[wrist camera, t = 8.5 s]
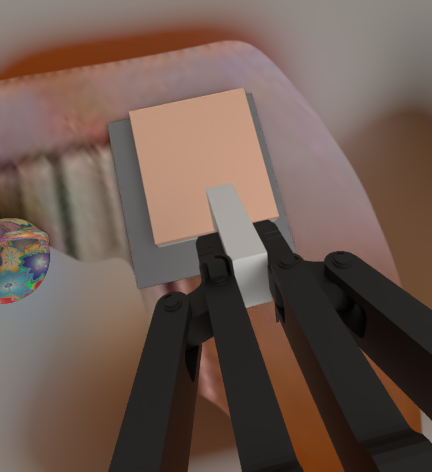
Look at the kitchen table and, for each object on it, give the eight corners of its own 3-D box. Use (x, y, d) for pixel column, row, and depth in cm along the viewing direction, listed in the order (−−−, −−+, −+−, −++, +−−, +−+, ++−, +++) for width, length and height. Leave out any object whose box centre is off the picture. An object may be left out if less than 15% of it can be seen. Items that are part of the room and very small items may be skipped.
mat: (294, 253, 33) (296, 252, 32) (139, 288, 33) (137, 288, 32) (250, 97, 37) (251, 93, 36) (109, 127, 36) (107, 123, 35)
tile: (279, 216, 31) (243, 87, 34) (155, 244, 31) (128, 111, 33) (275, 220, 33) (242, 99, 36) (159, 247, 33) (133, 122, 35)
